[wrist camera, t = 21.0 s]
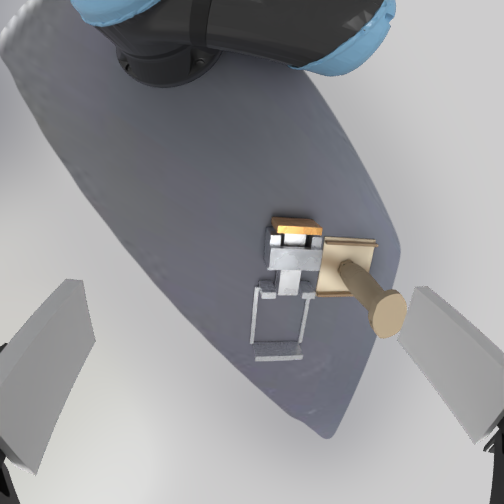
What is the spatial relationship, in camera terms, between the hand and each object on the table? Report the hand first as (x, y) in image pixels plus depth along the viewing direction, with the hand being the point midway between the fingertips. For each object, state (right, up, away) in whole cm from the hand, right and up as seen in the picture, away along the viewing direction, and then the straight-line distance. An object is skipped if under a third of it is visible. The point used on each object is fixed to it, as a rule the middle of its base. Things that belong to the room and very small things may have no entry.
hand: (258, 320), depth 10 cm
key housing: (+5, +4, +33) cm, 34 cm away
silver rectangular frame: (+4, -8, +37) cm, 39 cm away
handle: (+15, 0, +35) cm, 38 cm away
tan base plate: (+15, 0, +36) cm, 39 cm away
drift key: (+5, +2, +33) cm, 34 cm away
